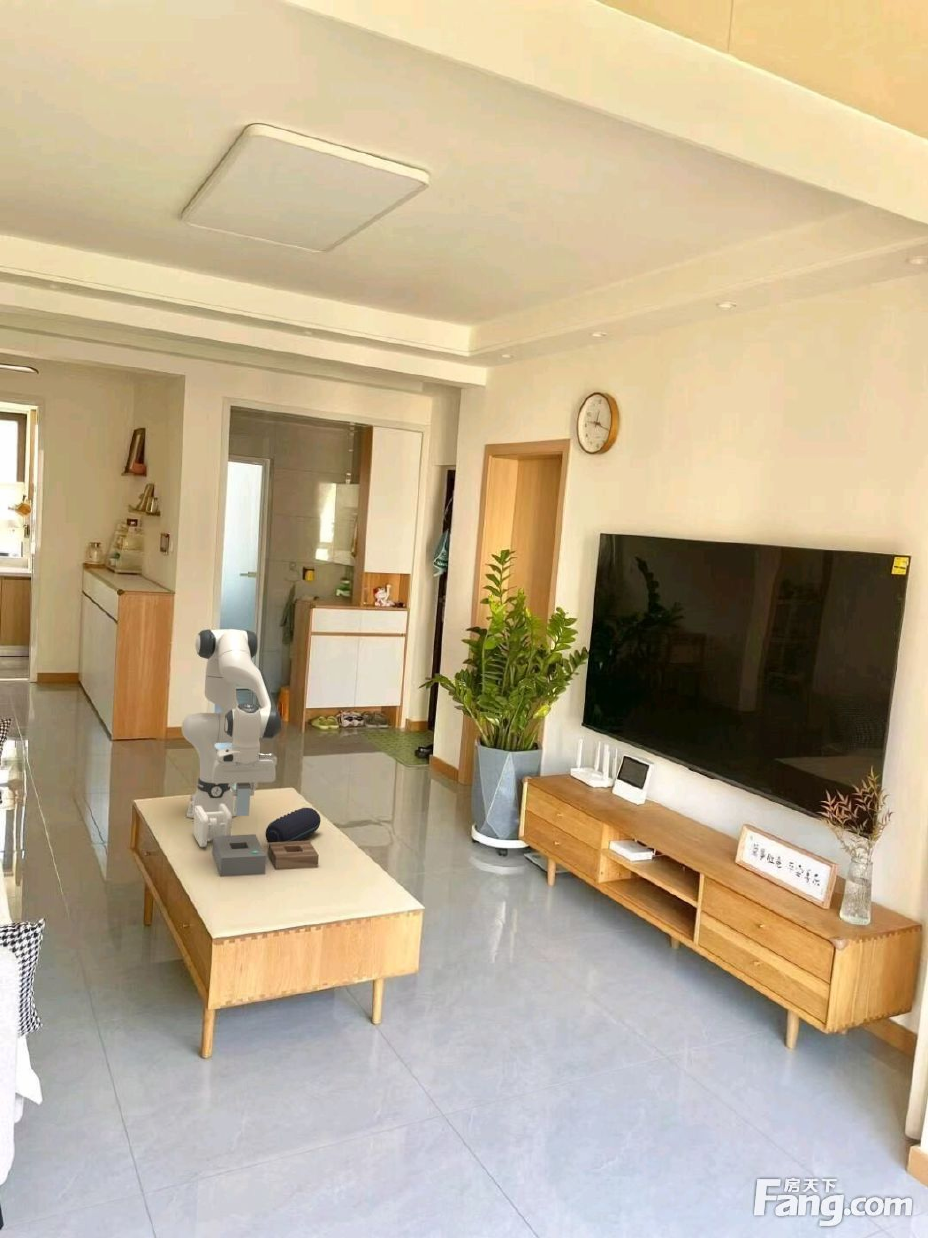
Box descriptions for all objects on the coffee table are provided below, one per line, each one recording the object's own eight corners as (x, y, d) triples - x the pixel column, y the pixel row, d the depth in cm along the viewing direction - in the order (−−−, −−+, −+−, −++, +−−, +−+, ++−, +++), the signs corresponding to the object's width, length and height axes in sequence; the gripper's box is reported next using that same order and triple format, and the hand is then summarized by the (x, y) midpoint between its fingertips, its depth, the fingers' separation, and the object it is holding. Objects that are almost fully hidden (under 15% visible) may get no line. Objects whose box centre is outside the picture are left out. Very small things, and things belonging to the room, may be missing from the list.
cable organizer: (231, 848, 328) (233, 815, 326) (199, 851, 323) (201, 817, 322) (221, 833, 341) (223, 801, 340) (191, 835, 336) (193, 803, 335)
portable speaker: (299, 828, 353) (301, 802, 352) (322, 834, 350) (324, 808, 348) (259, 848, 330) (261, 820, 329) (283, 854, 326) (285, 826, 325)
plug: (234, 812, 314) (236, 782, 313) (246, 811, 316) (248, 782, 315) (236, 816, 310) (238, 786, 309) (248, 815, 312) (250, 785, 311)
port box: (212, 853, 322) (213, 835, 321) (254, 851, 327) (255, 833, 326) (220, 876, 303) (221, 856, 302) (264, 873, 308) (266, 854, 308)
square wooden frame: (267, 854, 326) (268, 842, 325) (308, 851, 331) (309, 840, 330) (275, 869, 313) (276, 857, 312) (317, 867, 318) (318, 855, 318)
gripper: (275, 751, 318) (272, 791, 319) (212, 751, 310) (209, 793, 312) (279, 756, 312) (276, 797, 314) (214, 757, 304) (212, 799, 306)
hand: (242, 795), depth 312 cm, fingers closed on plug, 4 cm apart
